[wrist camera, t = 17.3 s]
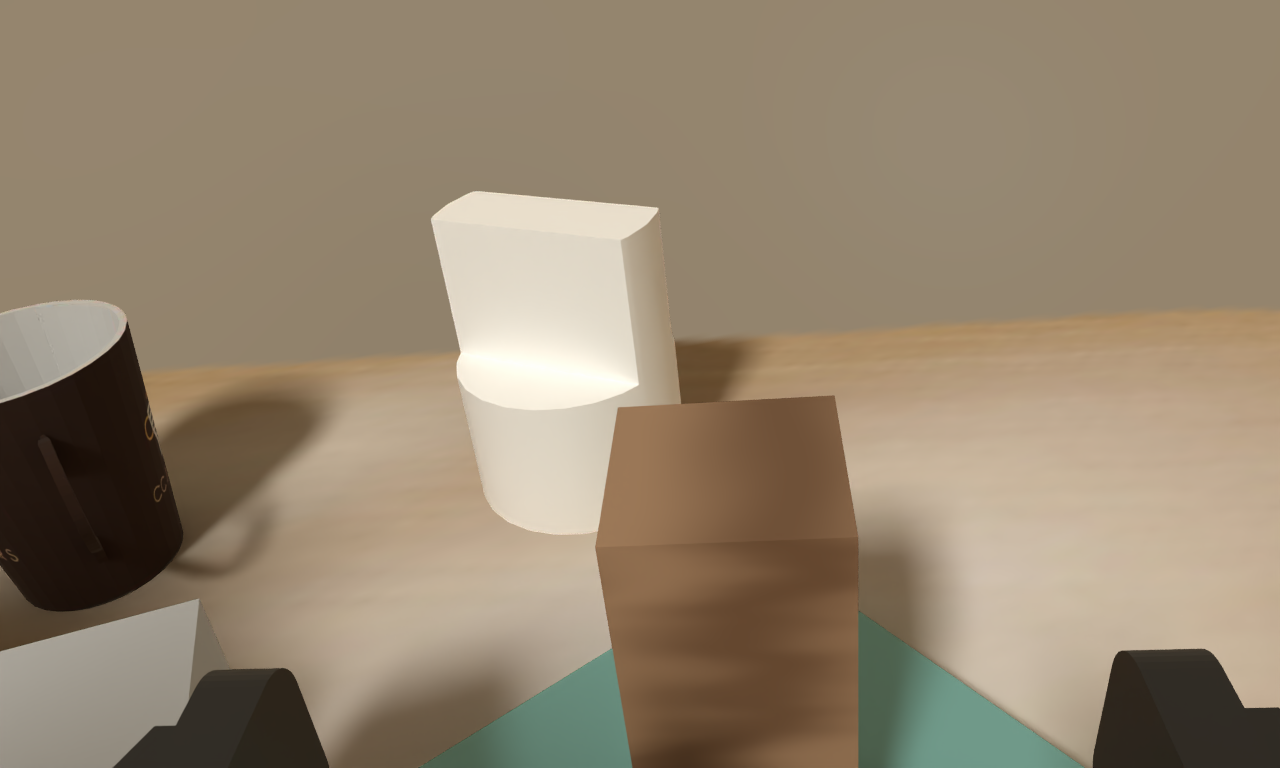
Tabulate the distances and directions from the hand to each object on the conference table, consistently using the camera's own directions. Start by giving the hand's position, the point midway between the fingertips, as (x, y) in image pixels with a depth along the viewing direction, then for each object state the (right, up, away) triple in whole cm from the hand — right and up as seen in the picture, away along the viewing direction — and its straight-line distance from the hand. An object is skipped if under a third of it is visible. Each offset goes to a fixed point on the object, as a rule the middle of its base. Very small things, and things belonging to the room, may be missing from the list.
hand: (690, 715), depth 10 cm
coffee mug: (-23, -5, +33) cm, 40 cm away
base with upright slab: (-3, -1, +36) cm, 36 cm away
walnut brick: (+3, -9, +18) cm, 20 cm away
